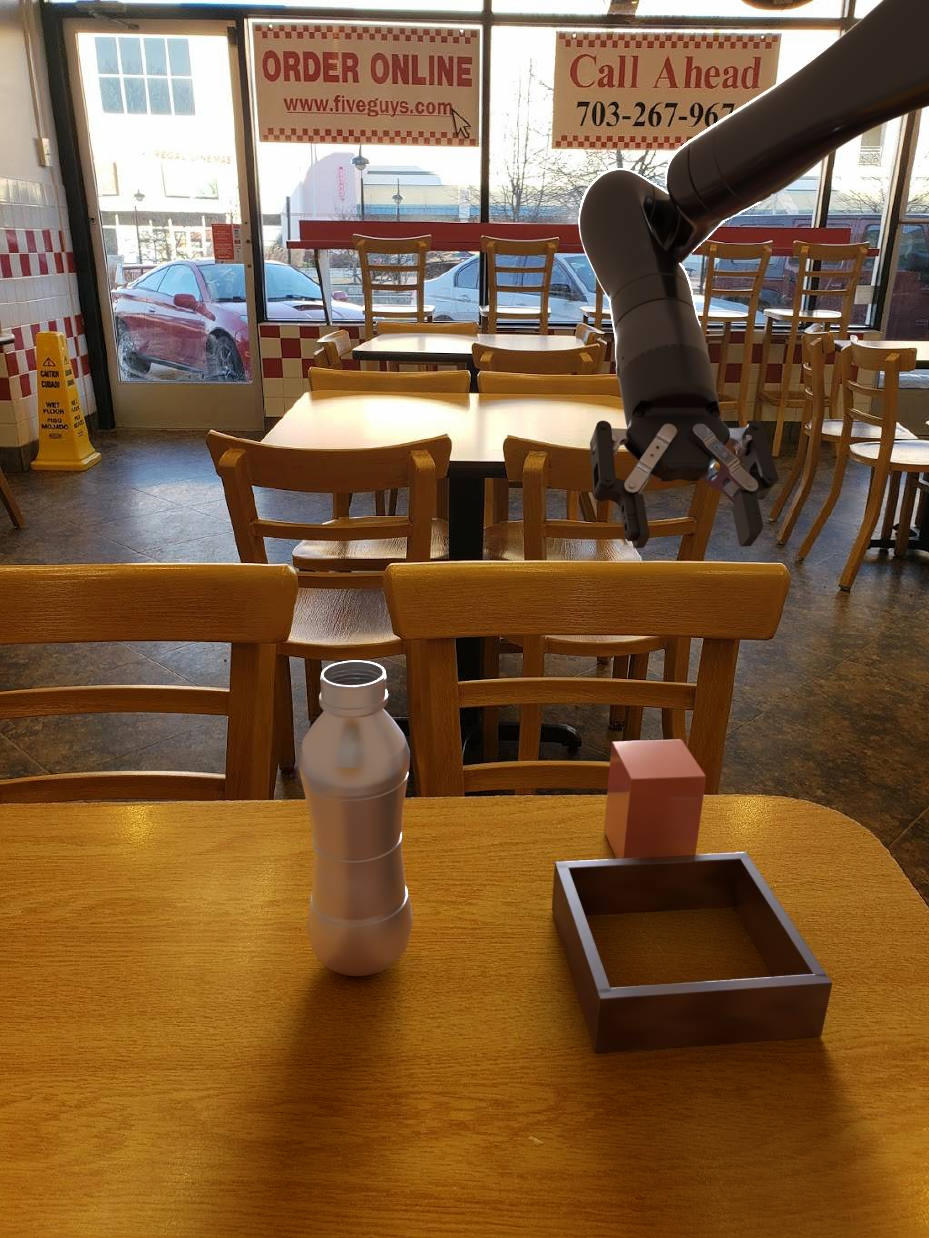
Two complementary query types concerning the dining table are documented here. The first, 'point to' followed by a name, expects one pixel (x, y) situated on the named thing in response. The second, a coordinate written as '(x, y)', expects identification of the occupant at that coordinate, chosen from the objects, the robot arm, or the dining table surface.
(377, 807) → the plastic bottle
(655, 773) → the red rectangular block
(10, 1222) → the dining table surface
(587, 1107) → the dining table surface
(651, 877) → the dark brown wooden tray
